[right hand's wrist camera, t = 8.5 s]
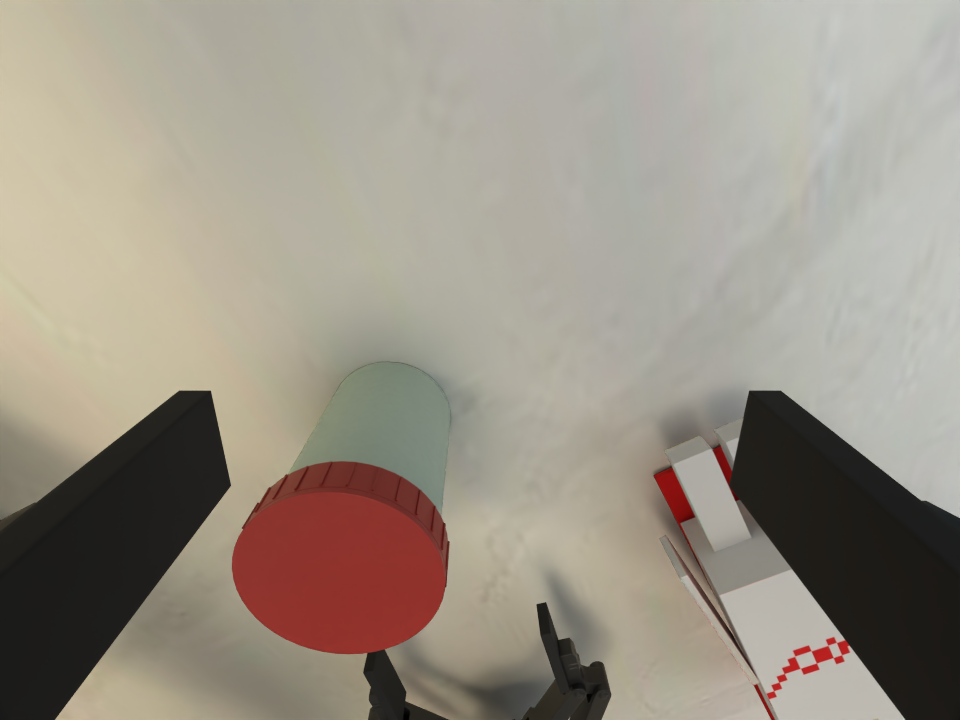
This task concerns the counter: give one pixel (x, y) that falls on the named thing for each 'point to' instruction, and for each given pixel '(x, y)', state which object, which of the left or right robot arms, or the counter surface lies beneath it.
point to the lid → (343, 558)
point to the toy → (761, 596)
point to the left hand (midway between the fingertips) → (455, 636)
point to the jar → (386, 426)
